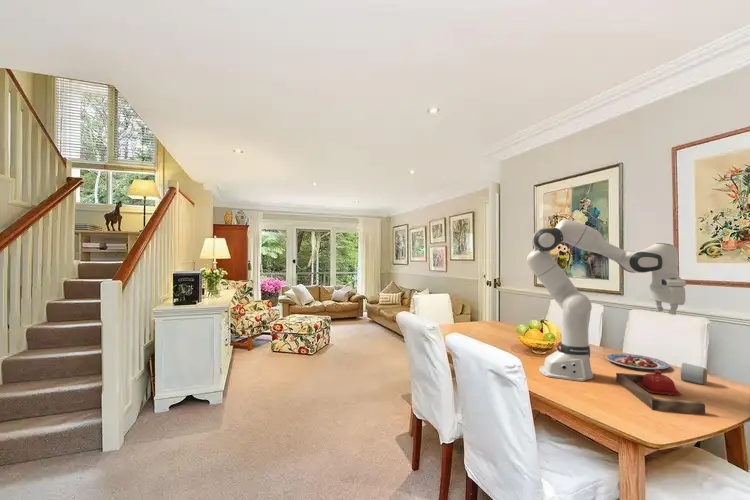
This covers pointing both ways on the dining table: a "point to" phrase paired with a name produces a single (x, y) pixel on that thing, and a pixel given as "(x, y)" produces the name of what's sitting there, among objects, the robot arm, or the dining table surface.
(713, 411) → the dining table surface
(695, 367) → the ceramic mug
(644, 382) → the butter dish
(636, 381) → the dock
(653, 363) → the ceramic plate
